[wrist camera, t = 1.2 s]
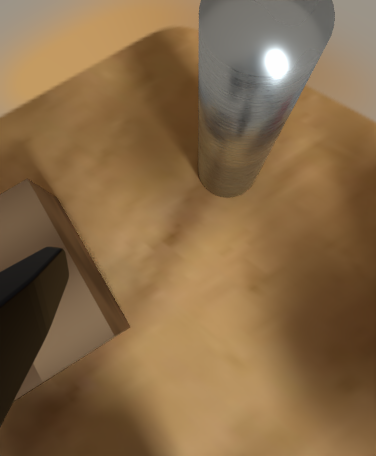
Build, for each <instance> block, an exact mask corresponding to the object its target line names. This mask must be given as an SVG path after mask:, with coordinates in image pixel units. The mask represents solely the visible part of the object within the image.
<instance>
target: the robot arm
mask: <svg viewBox="0 0 376 456" xmlns="http://www.w3.org/2000/svg"><path fill="white" fill-rule="evenodd" d="M68 279H69V269H68V263H67V258H66V253H65V250H64V249H63V248H59V247H51V246H48V247H45V248H43V249H41V250H39V251H37V252H36V253H34V254H32V255H30V256H28V257H26V258H25V259H23V260H21V261H19V262H17V263H15V264H14V265H12V266H10V267H8V268H6V269H4V270H3V271H1V272H0V427H1V425H2V423H3V421H4V419H5V417H6V415H7V413H8V411H9V409H10V407H11V405H12V403H13V401H14V399H15V397H16V395H17V393H18V392H19V390H20V388H21V386H22V384H23V382H24V380H25V378H26V376H27V374H28V372H29V370H30V368H31V366H32V364H33V362H34V360H35V358H36V356H37V354H38V352H39V351H40V349H41V347H42V345H43V343H44V341H45V339H46V336H47V334H48V332H49V330H50V327H51V325H52V322H53V319H54V317H55V314H56V311H57V309H58V306H59V304H60V301H61V298H62V296H63V293H64V290H65V288H66V285H67V282H68Z"/></svg>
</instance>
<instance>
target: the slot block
mask: <svg viewBox="0 0 376 456" xmlns="http://www.w3.org/2000/svg"><path fill="white" fill-rule="evenodd" d="M48 246H51V247H59V248H63V249H64V250H65V253H66V258H67V263H68V269H69V279H68V282H67V285H66V288H65V290H64V293H63V296H62V298H61V301H60V304H59V306H58V309H57V311H56V314H55V317H54V319H53V322H52V325H51V327H50V330H49V332H48V334H47V336H46V339H45V341H44V343H43V345H42V347H41V349H40V351H39V352H38V354H37V356H36V358H35V360H34V362H33V364H32V366H31V368H30V370H29V372H28V374H27V376H26V378H25V380H24V382H23V384H22V386H21V388H20V390H19V392H18V393H17V395H16V397H15V399H14V401H15V400H17V399H18V398H20V397H21V396H23V395H25V394H26V393H28V392H29V391H31V390H32V389H34V388H36V387H37V386H39V385H40V384H42V383H44V382H45V381H47V380H48V379H50V378H51V377H53V376H55V375H56V374H58V373H59V372H61V371H62V370H64V369H66V368H67V367H69V366H70V365H72V364H73V363H75V362H77V361H78V360H80V359H81V358H83V357H84V356H86V355H88V354H89V353H91V352H92V351H94V350H95V349H97V348H99V347H100V346H102V345H103V344H105V343H106V342H108V341H110V340H111V339H113V338H114V337H116V336H118V335H119V334H121V333H122V332H124V331H125V330H127V329H129V328H130V326H129V324H128V322H127V320H126V319H125V317H124V315H123V313H122V312H121V310H120V308H119V306H118V305H117V303H116V301H115V299H114V298H113V296H112V294H111V292H110V290H109V289H108V287H107V285H106V283H105V282H104V280H103V278H102V276H101V275H100V273H99V271H98V269H97V268H96V266H95V264H94V262H93V260H92V259H91V257H90V255H89V253H88V252H87V250H86V248H85V246H84V245H83V243H82V241H81V239H80V238H79V236H78V234H77V232H76V230H75V229H74V227H73V225H72V223H71V222H70V220H69V218H68V216H67V215H66V213H65V211H64V209H63V208H62V206H61V204H60V202H59V200H58V199H57V197H55V196H53V195H52V194H50V193H49V192H47V191H46V190H44V189H43V188H41V187H40V186H38V185H36V184H35V183H33V182H32V181H30V180H29V179H26V180H24V181H22V182H21V183H19V184H17V185H15V186H14V187H12V188H10V189H9V190H7V191H5V192H3V193H2V194H0V272H1V271H3V270H4V269H6V268H8V267H10V266H12V265H14V264H15V263H17V262H19V261H21V260H23V259H25V258H26V257H28V256H30V255H32V254H34V253H36V252H37V251H39V250H41V249H43V248H45V247H48ZM14 401H13V402H14Z"/></svg>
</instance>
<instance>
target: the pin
mask: <svg viewBox="0 0 376 456" xmlns="http://www.w3.org/2000/svg"><path fill="white" fill-rule="evenodd" d="M334 17H335V12H334V6H333V2H332V0H201V3H200V7H199V98H198V173H199V178H200V180H201V182H202V184H203V185H204V187H205V188H206V189H207V190H208V191H210V192H211V193H213V194H215V195H217V196H220V197H236V196H239V195H241V194H243V193H245V192H246V191H247V190H248V189H249V188H250V187H251V186H252V185H253V183H254V181H255V179H256V177H257V175H258V174H259V172H260V170H261V168H262V166H263V164H264V162H265V160H266V158H267V156H268V155H269V153H270V151H271V149H272V147H273V145H274V143H275V141H276V139H277V138H278V136H279V134H280V132H281V130H282V128H283V126H284V124H285V122H286V120H287V119H288V117H289V115H290V113H291V111H292V109H293V107H294V105H295V103H296V102H297V100H298V98H299V96H300V94H301V92H302V90H303V88H304V86H305V84H306V83H307V81H308V79H309V77H310V75H311V73H312V71H313V69H314V67H315V65H316V64H317V62H318V60H319V58H320V56H321V54H322V52H323V50H324V48H325V46H326V45H327V43H328V41H329V39H330V37H331V34H332V30H333V27H334V21H335V18H334Z"/></svg>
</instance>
